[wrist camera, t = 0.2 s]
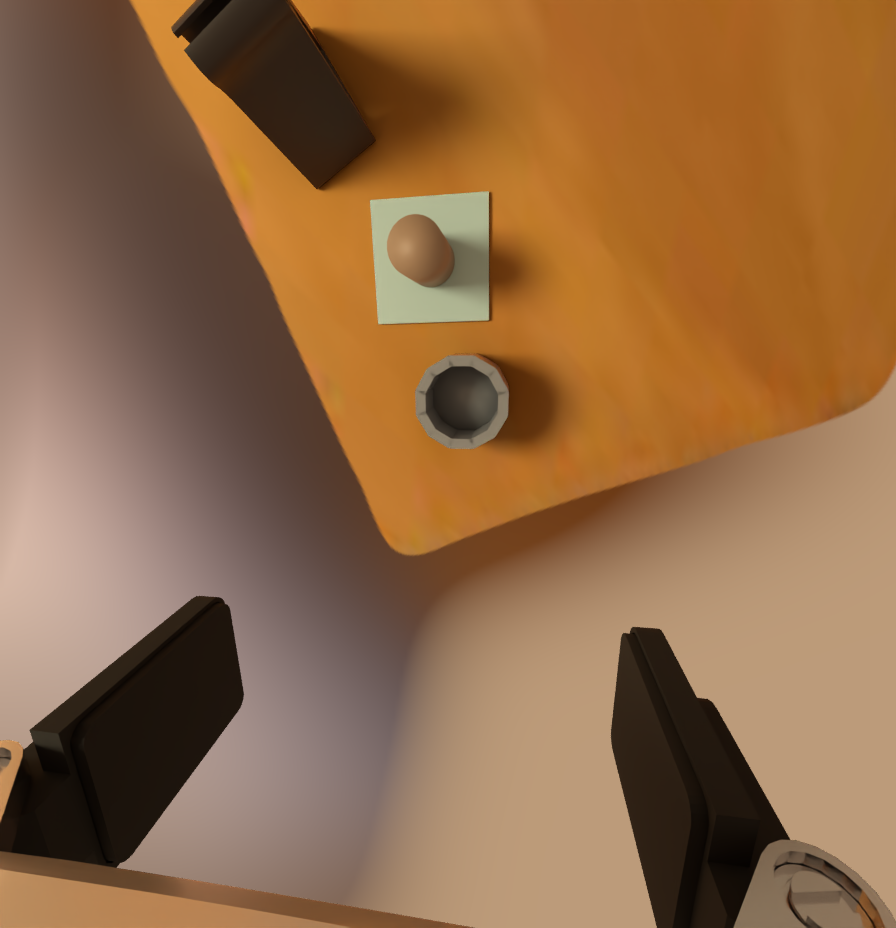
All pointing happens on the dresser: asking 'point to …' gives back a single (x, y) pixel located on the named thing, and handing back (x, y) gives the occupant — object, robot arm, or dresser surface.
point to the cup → (462, 401)
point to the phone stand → (277, 80)
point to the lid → (431, 258)
